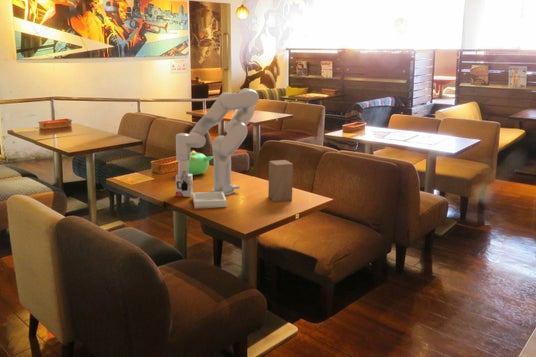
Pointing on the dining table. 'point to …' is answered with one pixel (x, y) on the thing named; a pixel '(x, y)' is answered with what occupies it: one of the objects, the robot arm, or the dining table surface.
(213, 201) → the tray
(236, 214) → the dining table surface
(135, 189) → the dining table surface
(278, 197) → the wooden block
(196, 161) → the green teapot
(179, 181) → the ink box
